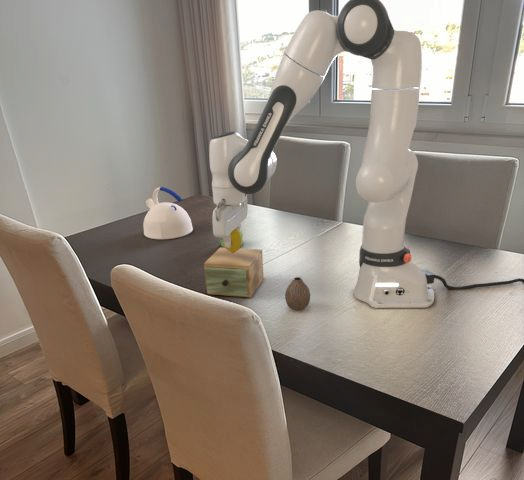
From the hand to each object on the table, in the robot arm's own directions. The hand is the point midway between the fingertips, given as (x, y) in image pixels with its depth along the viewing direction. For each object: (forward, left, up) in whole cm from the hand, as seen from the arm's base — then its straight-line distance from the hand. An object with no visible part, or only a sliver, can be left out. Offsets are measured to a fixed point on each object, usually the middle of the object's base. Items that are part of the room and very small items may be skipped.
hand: (232, 242), depth 144 cm
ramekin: (+14, -36, -14) cm, 41 cm away
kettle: (+46, -48, -14) cm, 68 cm away
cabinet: (0, 0, -14) cm, 14 cm away
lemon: (0, 0, -3) cm, 3 cm away
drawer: (0, +2, -13) cm, 13 cm away
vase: (-22, +11, -14) cm, 28 cm away
